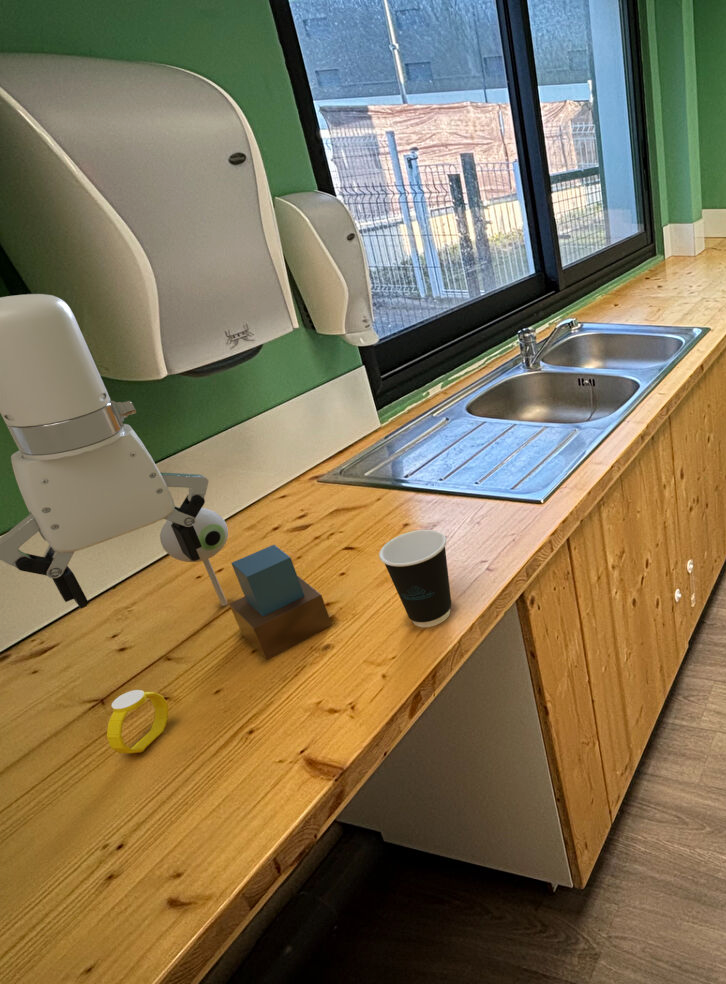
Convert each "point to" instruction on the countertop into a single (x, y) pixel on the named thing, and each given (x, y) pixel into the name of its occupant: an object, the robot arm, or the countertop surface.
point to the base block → (282, 622)
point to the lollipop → (211, 539)
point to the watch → (128, 704)
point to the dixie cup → (420, 575)
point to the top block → (268, 579)
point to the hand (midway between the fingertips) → (139, 578)
